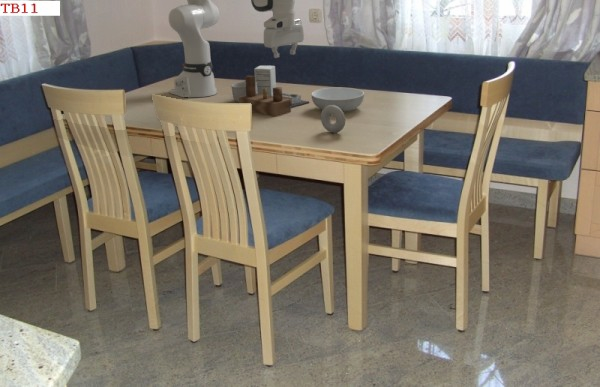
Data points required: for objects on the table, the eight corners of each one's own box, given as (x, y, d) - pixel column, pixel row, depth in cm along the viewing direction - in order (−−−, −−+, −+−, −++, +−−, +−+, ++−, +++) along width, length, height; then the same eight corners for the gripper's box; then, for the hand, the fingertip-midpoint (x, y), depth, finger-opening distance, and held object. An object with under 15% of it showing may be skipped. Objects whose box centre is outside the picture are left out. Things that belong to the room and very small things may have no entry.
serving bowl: (304, 114, 288) (303, 97, 286) (321, 102, 307) (321, 86, 304) (355, 118, 281) (355, 100, 279) (370, 105, 300) (370, 88, 297)
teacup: (254, 105, 305) (253, 86, 302) (229, 105, 307) (227, 85, 304) (262, 97, 318) (261, 79, 315) (238, 97, 320) (237, 79, 317)
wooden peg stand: (239, 109, 299) (237, 77, 295) (255, 105, 306) (253, 73, 301) (275, 116, 287) (273, 83, 282) (290, 111, 293) (289, 79, 288)
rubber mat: (268, 104, 305) (268, 103, 305) (287, 99, 314) (287, 97, 313) (289, 108, 298) (289, 107, 298) (309, 103, 306) (309, 101, 306)
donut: (319, 131, 264) (318, 104, 261) (324, 129, 267) (324, 102, 263) (341, 136, 258) (341, 108, 255) (347, 133, 261) (347, 105, 257)
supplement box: (260, 93, 325) (259, 65, 321) (276, 94, 323) (275, 65, 319) (255, 97, 318) (253, 68, 314) (271, 98, 316) (270, 68, 312)
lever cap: (276, 102, 307) (275, 93, 305) (285, 99, 310) (284, 90, 309) (292, 105, 301) (292, 96, 299) (301, 102, 304) (301, 93, 303)
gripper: (295, 17, 304) (296, 51, 309) (260, 23, 290) (261, 58, 295) (307, 18, 300) (307, 53, 305) (272, 24, 286) (273, 60, 291)
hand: (284, 55), depth 300 cm, fingers open, 8 cm apart
